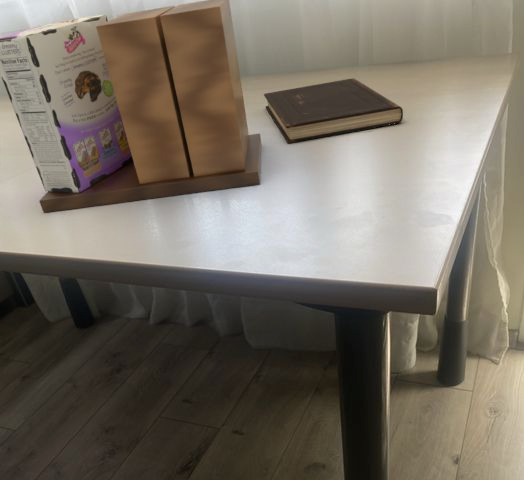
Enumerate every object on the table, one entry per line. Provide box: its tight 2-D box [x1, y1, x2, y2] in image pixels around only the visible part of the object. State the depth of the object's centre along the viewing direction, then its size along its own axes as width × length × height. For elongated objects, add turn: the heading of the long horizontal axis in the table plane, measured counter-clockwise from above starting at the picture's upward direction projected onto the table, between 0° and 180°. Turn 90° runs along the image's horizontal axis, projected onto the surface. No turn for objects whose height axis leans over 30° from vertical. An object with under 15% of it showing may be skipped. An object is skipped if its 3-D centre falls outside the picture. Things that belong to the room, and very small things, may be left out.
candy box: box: [0, 13, 133, 193], centre depth 63 cm, size 14×6×16 cm, turn 156°
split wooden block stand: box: [38, 0, 262, 213], centre depth 63 cm, size 26×16×18 cm, turn 89°
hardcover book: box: [263, 77, 404, 144], centre depth 81 cm, size 16×23×2 cm
